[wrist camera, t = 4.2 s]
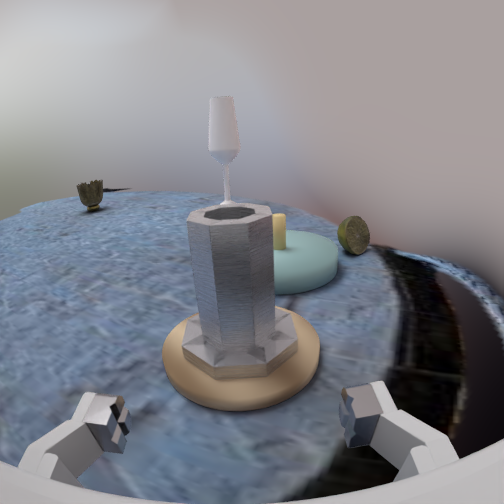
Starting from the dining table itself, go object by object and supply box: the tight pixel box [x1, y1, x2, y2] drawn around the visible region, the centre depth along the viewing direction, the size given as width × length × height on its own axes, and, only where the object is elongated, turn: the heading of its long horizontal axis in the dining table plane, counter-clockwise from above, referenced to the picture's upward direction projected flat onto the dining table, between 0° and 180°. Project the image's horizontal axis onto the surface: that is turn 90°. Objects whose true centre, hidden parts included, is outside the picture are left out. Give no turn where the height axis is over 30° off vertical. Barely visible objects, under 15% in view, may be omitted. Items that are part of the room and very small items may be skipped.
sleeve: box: [181, 203, 298, 380], centre depth 22 cm, size 8×8×10 cm
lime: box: [337, 216, 370, 255], centre depth 42 cm, size 4×5×5 cm
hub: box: [272, 214, 338, 295], centre depth 39 cm, size 14×14×6 cm
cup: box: [77, 180, 103, 212], centre depth 79 cm, size 8×7×8 cm
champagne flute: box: [208, 96, 240, 205], centre depth 66 cm, size 7×7×24 cm
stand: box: [162, 306, 320, 411], centre depth 24 cm, size 12×12×1 cm
